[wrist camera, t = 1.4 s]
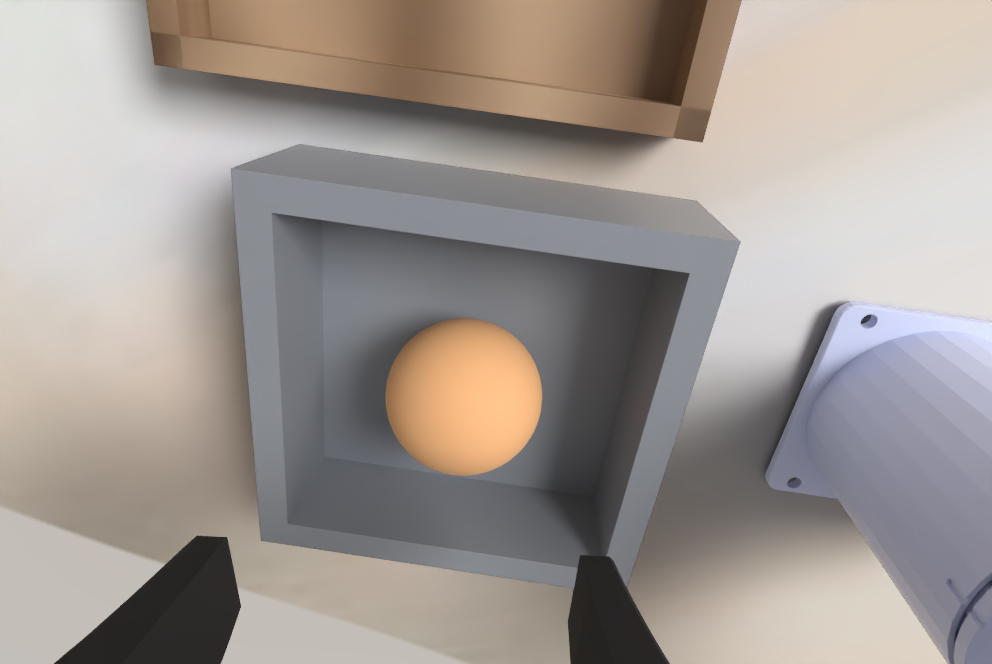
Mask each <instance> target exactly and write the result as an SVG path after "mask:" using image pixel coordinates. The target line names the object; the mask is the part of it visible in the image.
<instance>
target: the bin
mask: <svg viewBox="0 0 992 664" xmlns="http://www.w3.org/2000/svg"><path fill="white" fill-rule="evenodd" d="M231 177H232V189H233V202H234V214H235V227H236V239H237V251H238V264H239V276H240V288H241V301H242V313H243V325H244V338H245V350H246V362H247V375H248V387H249V399H250V412H251V424H252V437H253V449H254V461H255V474H256V486H257V498H258V511H259V523H260V535H261V541H267V542H273V543H280V544H286V545H293V546H300V547H306V548H313V549H319V550H326V551H332V552H339V553H346V554H352V555H359V556H365V557H372V558H378V559H385V560H392V561H398V562H405V563H411V564H418V565H424V566H431V567H438V568H444V569H451V570H457V571H464V572H470V573H477V574H484V575H490V576H497V577H503V578H510V579H516V580H523V581H530V582H536V583H543V584H549V585H556V586H562V587H569V588H574V585H575V580H576V574H577V569H578V563H579V558H580V555H589V556H609V557H610V558H611V559H612V560H613V561H614V563H615V565H616V567H617V569H618V571H619V573H620V575H621V577H622V579H623V581H624V583H625V585H626V587H627V586H628V583H629V580H630V577H631V574H632V571H633V568H634V565H635V562H636V558H637V555H638V552H639V549H640V546H641V543H642V540H643V537H644V534H645V531H646V528H647V525H648V522H649V519H650V516H651V513H652V510H653V507H654V504H655V501H656V498H657V495H658V492H659V488H660V485H661V482H662V479H663V476H664V473H665V470H666V467H667V464H668V461H669V458H670V455H671V452H672V449H673V446H674V443H675V440H676V437H677V434H678V431H679V428H680V425H681V422H682V418H683V415H684V412H685V409H686V406H687V403H688V400H689V397H690V394H691V391H692V388H693V385H694V382H695V379H696V376H697V373H698V370H699V367H700V364H701V361H702V358H703V355H704V352H705V348H706V345H707V342H708V339H709V336H710V333H711V330H712V327H713V324H714V321H715V318H716V315H717V312H718V309H719V306H720V303H721V300H722V297H723V294H724V291H725V288H726V285H727V282H728V278H729V275H730V272H731V269H732V266H733V263H734V260H735V257H736V254H737V251H738V248H739V245H740V241H739V240H738V239H737V238H736V237H735V236H734V235H733V234H732V233H731V232H730V231H729V230H727V229H726V228H725V227H724V226H723V225H722V224H721V223H720V222H719V221H718V220H717V219H716V218H715V217H713V216H712V215H711V214H710V213H709V212H708V211H707V210H706V209H705V208H704V207H703V206H702V205H701V204H700V203H698V202H697V201H693V200H686V199H679V198H672V197H665V196H658V195H651V194H644V193H637V192H630V191H623V190H616V189H609V188H602V187H595V186H588V185H581V184H574V183H567V182H560V181H553V180H546V179H539V178H532V177H525V176H518V175H511V174H504V173H497V172H490V171H483V170H476V169H469V168H462V167H455V166H448V165H441V164H434V163H427V162H420V161H413V160H406V159H399V158H392V157H385V156H378V155H371V154H364V153H357V152H350V151H343V150H336V149H329V148H322V147H315V146H308V145H301V144H299V145H296V146H293V147H290V148H288V149H285V150H282V151H279V152H276V153H273V154H270V155H268V156H265V157H262V158H259V159H256V160H253V161H251V162H248V163H245V164H242V165H239V166H236V167H234V168H231ZM456 318H471V319H478V320H483V321H487V322H490V323H493V324H495V325H497V326H499V327H501V328H503V329H505V330H506V331H508V332H510V333H511V334H512V335H513V336H515V337H516V338H517V339H518V340H519V341H520V342H521V343H522V344H523V346H524V347H525V348H526V349H527V351H528V352H529V353H530V355H531V357H532V359H533V360H534V362H535V365H536V367H537V370H538V373H539V375H540V380H541V386H542V406H541V413H540V417H539V420H538V423H537V426H536V428H535V430H534V433H533V435H532V436H531V438H530V439H529V441H528V442H527V444H526V445H525V446H524V448H523V449H522V450H521V451H520V452H519V453H518V454H517V455H516V456H514V457H513V458H512V459H511V460H510V461H508V462H507V463H505V464H504V465H502V466H500V467H498V468H496V469H494V470H491V471H488V472H485V473H482V474H477V475H469V476H459V475H450V474H446V473H442V472H439V471H436V470H433V469H431V468H429V467H427V466H425V465H423V464H421V463H420V462H419V461H417V460H416V459H414V458H413V457H412V456H411V455H410V454H409V453H408V452H407V451H406V450H405V448H404V447H403V446H402V445H401V444H400V442H399V441H398V439H397V438H396V436H395V434H394V432H393V430H392V428H391V425H390V422H389V419H388V415H387V410H386V399H385V394H386V385H387V379H388V376H389V372H390V370H391V367H392V365H393V363H394V360H395V359H396V357H397V356H398V354H399V353H400V351H401V350H402V348H403V347H404V346H405V345H406V344H407V343H408V341H409V340H411V339H412V338H413V337H414V336H415V335H417V334H418V333H419V332H420V331H422V330H424V329H425V328H427V327H429V326H432V325H434V324H436V323H438V322H442V321H445V320H450V319H456Z"/></svg>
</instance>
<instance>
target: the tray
mask: <svg viewBox="0 0 992 664" xmlns="http://www.w3.org/2000/svg"><path fill="white" fill-rule="evenodd" d="M146 1H147V9H148V17H149V25H150V32H151V40H152V48H153V56H154V63H155V65H160V66H167V67H174V68H181V69H188V70H196V71H203V72H210V73H217V74H224V75H231V76H238V77H245V78H252V79H259V80H266V81H273V82H280V83H287V84H294V85H302V86H309V87H316V88H323V89H330V90H337V91H344V92H351V93H358V94H365V95H372V96H379V97H386V98H393V99H401V100H408V101H415V102H422V103H429V104H436V105H443V106H450V107H457V108H464V109H471V110H478V111H485V112H492V113H500V114H507V115H514V116H521V117H528V118H535V119H542V120H549V121H556V122H563V123H570V124H577V125H584V126H591V127H598V128H606V129H613V130H620V131H627V132H634V133H641V134H648V135H655V136H662V137H669V138H676V139H683V140H690V141H697V142H703V139H704V135H705V132H706V128H707V124H708V121H709V117H710V113H711V110H712V106H713V103H714V99H715V95H716V92H717V88H718V84H719V81H720V77H721V73H722V70H723V66H724V63H725V59H726V55H727V52H728V48H729V44H730V41H731V37H732V34H733V30H734V26H735V23H736V19H737V15H738V12H739V8H740V4H741V1H742V0H146Z"/></svg>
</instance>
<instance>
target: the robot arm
mask: <svg viewBox="0 0 992 664" xmlns="http://www.w3.org/2000/svg"><path fill="white" fill-rule="evenodd" d="M870 314H871V318H870V320H869V321H868V322H866V323H862V324H861V320H862V319H863V317H865V316H866V315H870ZM765 478H766V481H767V483H768V485H769V486H770V487H771V488H772V489H775V490H780V491H787V492H794V493H800V494H807V495H814V496H821V497H827V498H834V499H838V500H839V502H840V503H841V505H842V506H843V508H844V509H845V511H846V512H847V514H848V515H849V517H850V518H851V520H852V521H853V523H854V524H855V526H856V527H857V529H858V530H859V532H860V533H861V535H862V536H863V538H864V539H865V541H866V542H867V544H868V545H869V547H870V548H871V550H872V551H873V553H874V554H875V556H876V557H877V559H878V560H879V562H880V563H881V565H882V566H883V568H884V569H885V571H886V572H887V574H888V575H889V577H890V578H891V580H892V581H893V583H894V584H895V586H896V587H897V589H898V590H899V592H900V593H901V595H902V596H903V598H904V599H905V601H906V602H907V604H908V605H909V607H910V608H911V610H912V611H913V613H914V614H915V616H916V617H917V619H918V620H919V622H920V623H921V625H922V626H923V628H924V629H925V631H926V632H927V634H928V635H929V637H930V638H931V640H932V641H933V643H934V644H935V646H936V647H937V649H938V650H939V652H940V653H941V654H942V656H943V657H944V659H945V660H946V662H947V663H948V664H992V321H985V320H978V319H971V318H964V317H957V316H950V315H944V314H937V313H930V312H923V311H916V310H909V309H902V308H895V307H888V306H881V305H874V304H867V303H861V302H847V303H845V304H842V305H841V306H840V307H839V308H837V310H836V311H835V313H834V315H833V318H832V320H831V322H830V325H829V327H828V329H827V332H826V334H825V336H824V339H823V341H822V343H821V346H820V348H819V350H818V352H817V355H816V357H815V359H814V362H813V364H812V366H811V369H810V371H809V373H808V376H807V378H806V380H805V383H804V385H803V387H802V390H801V392H800V394H799V397H798V399H797V401H796V404H795V406H794V408H793V411H792V413H791V415H790V418H789V420H788V422H787V425H786V427H785V429H784V432H783V434H782V436H781V439H780V441H779V443H778V446H777V448H776V450H775V453H774V455H773V457H772V460H771V462H770V464H769V467H768V469H767V471H766V474H765ZM791 478H796V479H795V480H793V481H789V479H791ZM240 608H241V604H240V599H239V594H238V589H237V584H236V579H235V574H234V569H233V564H232V559H231V554H230V549H229V544H228V539H227V537H209V536H196V537H195V538H194V539H193V540H191V541H190V542H189V543H188V544H187V545H186V546H185V547H184V548H183V549H182V550H181V551H179V552H178V553H177V554H176V555H175V556H174V557H173V558H172V559H171V560H170V561H169V562H168V563H167V564H166V565H164V567H162V568H161V569H160V570H159V571H158V572H157V573H156V574H155V575H154V576H153V577H152V578H151V579H150V580H148V581H147V582H146V583H145V584H144V585H143V586H142V587H141V588H140V589H139V590H138V591H137V592H136V593H134V594H133V595H132V596H131V597H130V598H129V599H128V600H127V601H126V602H124V603H123V604H122V605H121V606H120V607H119V608H118V609H117V610H116V611H114V612H113V613H112V614H111V615H110V616H109V617H108V618H107V619H105V620H104V621H103V622H102V623H101V624H100V625H99V626H98V627H97V628H95V629H94V630H93V631H92V632H91V633H90V634H89V635H87V636H86V637H85V638H84V639H83V640H82V641H80V642H79V643H78V644H77V645H76V646H74V647H73V648H72V649H71V650H70V651H68V652H67V653H66V654H65V655H64V656H63V657H61V658H60V659H59V660H58V661H56V662H55V663H54V664H220V663H221V661H222V659H223V656H224V653H225V651H226V648H227V645H228V642H229V640H230V637H231V634H232V631H233V628H234V625H235V622H236V619H237V617H238V614H239V611H240ZM568 630H569V645H570V659H571V664H670V663H669V662H668V660H667V658H666V657H665V655H664V653H663V652H662V650H661V648H660V647H659V645H658V643H657V642H656V640H655V638H654V637H653V635H652V633H651V632H650V630H649V628H648V626H647V625H646V623H645V621H644V619H643V618H642V616H641V614H640V612H639V610H638V608H637V606H636V605H635V603H634V601H633V599H632V597H631V595H630V593H629V591H628V589H627V587H626V585H625V583H624V581H623V579H622V577H621V575H620V573H619V571H618V569H617V567H616V565H615V563H614V561H613V560H612V559H611V558H610V557H609V556H589V555H580V558H579V563H578V569H577V574H576V580H575V585H574V591H573V597H572V602H571V608H570V613H569V619H568Z"/></svg>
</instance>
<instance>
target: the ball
mask: <svg viewBox="0 0 992 664" xmlns="http://www.w3.org/2000/svg"><path fill="white" fill-rule="evenodd" d="M385 399H386V410H387V415H388V419H389V422H390V425H391V428H392V430H393V432H394V434H395V436H396V438H397V439H398V441H399V442H400V444H401V445H402V446H403V447H404V448H405V450H406V451H407V452H408V453H409V454H410V455H411V456H412V457H413V458H414V459H416V460H417V461H419V462H420V463H421V464H423V465H425V466H427V467H429V468H431V469H433V470H436V471H439V472H442V473H446V474H450V475H459V476H469V475H477V474H482V473H485V472H488V471H491V470H494V469H496V468H498V467H500V466H502V465H504V464H505V463H507V462H508V461H510V460H511V459H512V458H513V457H514V456H516V455H517V454H518V453H519V452H520V451H521V450H522V449H523V448H524V446H525V445H526V444H527V442H528V441H529V439H530V438H531V436H532V435H533V433H534V430H535V428H536V426H537V423H538V420H539V417H540V413H541V406H542V386H541V380H540V375H539V373H538V370H537V367H536V365H535V362H534V360H533V359H532V357H531V355H530V353H529V352H528V351H527V349H526V348H525V347H524V346H523V344H522V343H521V342H520V341H519V340H518V339H517V338H516V337H515V336H513V335H512V334H511V333H510V332H508V331H506V330H505V329H503V328H501V327H499V326H497V325H495V324H493V323H490V322H487V321H483V320H478V319H471V318H456V319H450V320H445V321H442V322H438V323H436V324H434V325H432V326H429V327H427V328H425V329H424V330H422V331H420V332H419V333H418V334H417V335H415V336H414V337H413V338H412V339H411V340H409V341H408V343H407V344H406V345H405V346H404V347H403V348H402V350H401V351H400V353H399V354H398V356H397V357H396V359H395V360H394V363H393V365H392V367H391V370H390V372H389V376H388V379H387V385H386V394H385Z"/></svg>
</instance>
